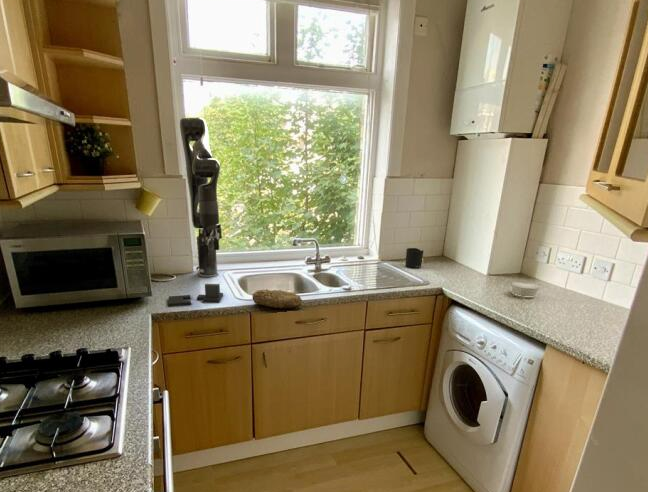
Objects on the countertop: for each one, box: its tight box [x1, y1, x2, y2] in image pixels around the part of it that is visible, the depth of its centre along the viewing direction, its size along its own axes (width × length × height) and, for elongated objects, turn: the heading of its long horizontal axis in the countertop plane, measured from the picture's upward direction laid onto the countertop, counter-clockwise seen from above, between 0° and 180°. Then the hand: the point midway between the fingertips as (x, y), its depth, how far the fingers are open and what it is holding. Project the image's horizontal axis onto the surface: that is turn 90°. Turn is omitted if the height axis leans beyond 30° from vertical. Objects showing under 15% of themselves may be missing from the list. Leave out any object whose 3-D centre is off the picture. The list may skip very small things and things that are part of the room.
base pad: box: [167, 294, 192, 307], centre depth 178 cm, size 10×9×1 cm
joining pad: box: [196, 283, 224, 304], centre depth 182 cm, size 10×10×6 cm
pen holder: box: [405, 247, 424, 270], centre depth 239 cm, size 9×9×10 cm
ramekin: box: [511, 281, 540, 299], centre depth 193 cm, size 11×11×5 cm
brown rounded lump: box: [251, 289, 303, 309], centre depth 174 cm, size 13×8×20 cm
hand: (211, 252), depth 173 cm, fingers open, 8 cm apart
